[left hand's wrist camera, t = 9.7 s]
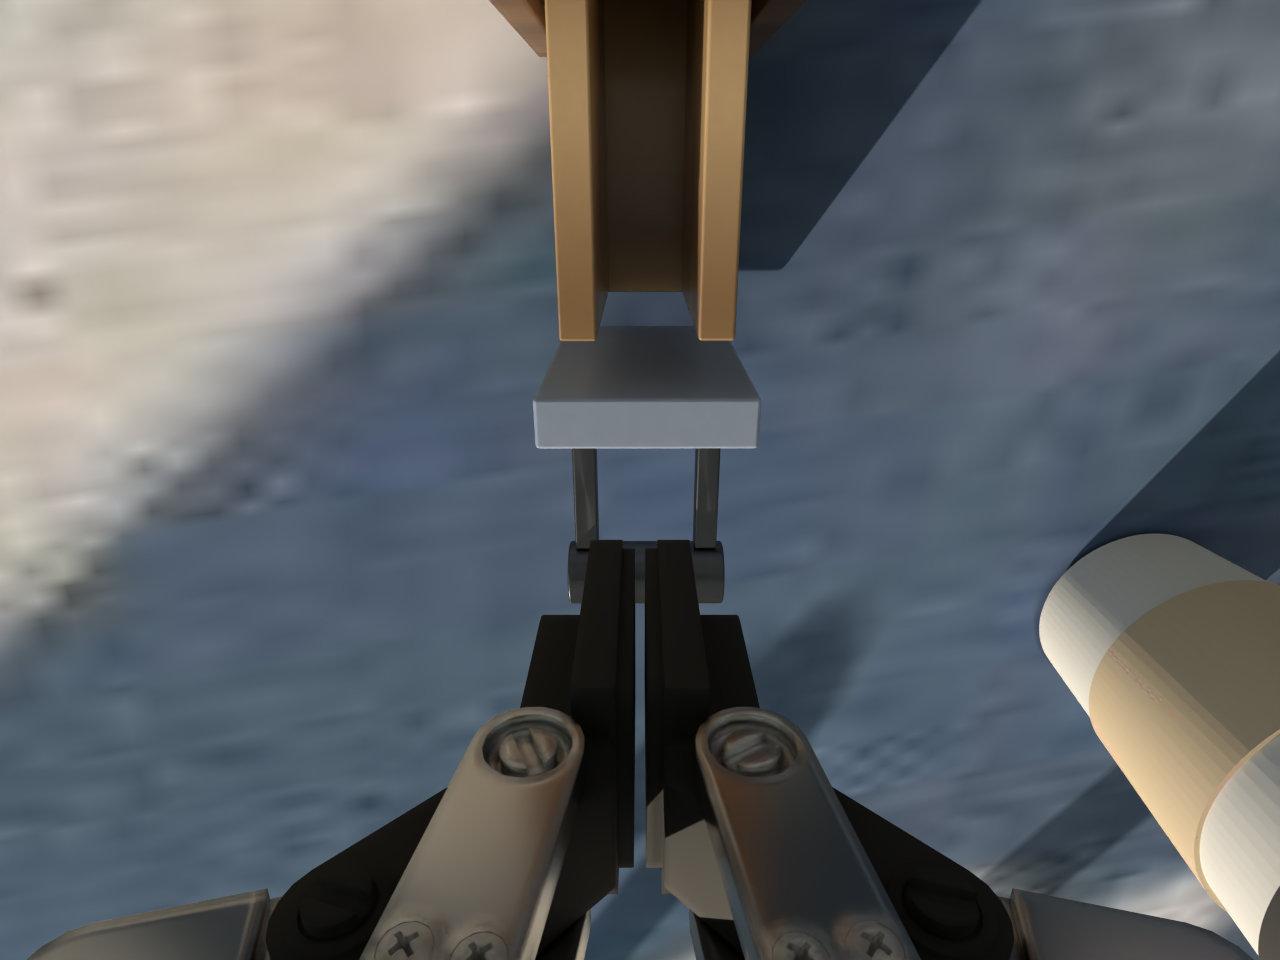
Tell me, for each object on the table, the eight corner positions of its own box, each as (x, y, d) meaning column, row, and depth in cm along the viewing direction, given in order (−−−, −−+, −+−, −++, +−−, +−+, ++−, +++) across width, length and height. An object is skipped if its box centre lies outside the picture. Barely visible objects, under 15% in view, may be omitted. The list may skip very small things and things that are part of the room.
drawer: (715, 509, 26) (745, 647, 19) (573, 509, 26) (547, 647, 19) (758, -498, 17) (857, -1056, 9) (534, -497, 17) (445, -1054, 9)
